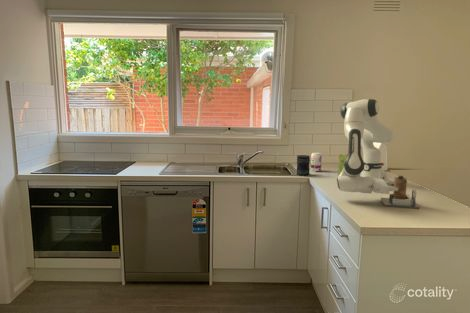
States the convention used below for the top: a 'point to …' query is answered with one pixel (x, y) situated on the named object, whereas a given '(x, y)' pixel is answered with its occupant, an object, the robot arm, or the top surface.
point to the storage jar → (303, 165)
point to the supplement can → (316, 161)
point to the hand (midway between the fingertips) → (396, 186)
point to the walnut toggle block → (400, 187)
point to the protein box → (341, 162)
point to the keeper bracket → (401, 201)
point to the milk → (382, 153)
